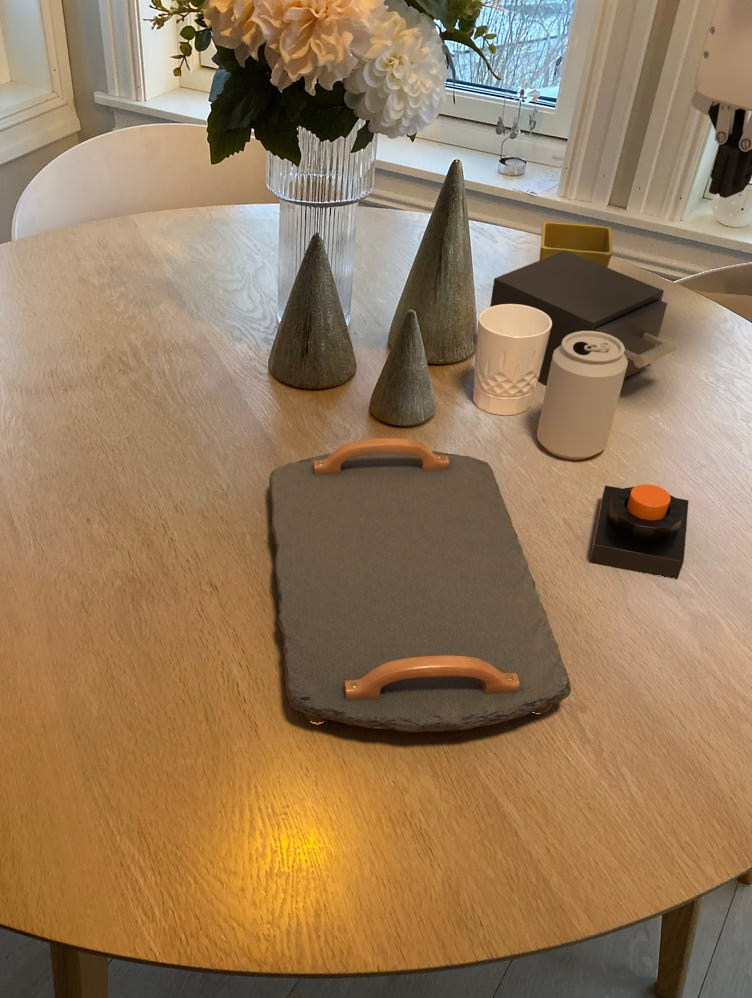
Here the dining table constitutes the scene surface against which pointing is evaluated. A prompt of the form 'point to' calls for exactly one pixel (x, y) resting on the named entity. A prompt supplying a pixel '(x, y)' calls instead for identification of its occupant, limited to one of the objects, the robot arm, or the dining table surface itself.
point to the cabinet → (572, 296)
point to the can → (582, 394)
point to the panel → (639, 536)
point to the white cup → (509, 357)
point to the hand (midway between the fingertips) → (726, 191)
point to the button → (648, 502)
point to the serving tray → (407, 592)
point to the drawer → (640, 335)
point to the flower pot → (577, 241)
